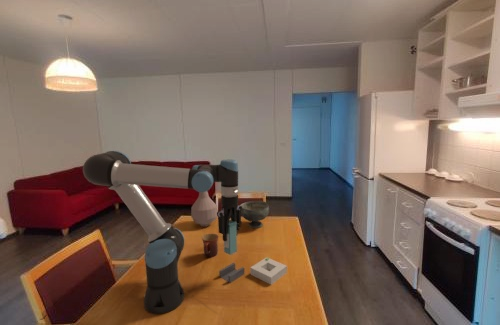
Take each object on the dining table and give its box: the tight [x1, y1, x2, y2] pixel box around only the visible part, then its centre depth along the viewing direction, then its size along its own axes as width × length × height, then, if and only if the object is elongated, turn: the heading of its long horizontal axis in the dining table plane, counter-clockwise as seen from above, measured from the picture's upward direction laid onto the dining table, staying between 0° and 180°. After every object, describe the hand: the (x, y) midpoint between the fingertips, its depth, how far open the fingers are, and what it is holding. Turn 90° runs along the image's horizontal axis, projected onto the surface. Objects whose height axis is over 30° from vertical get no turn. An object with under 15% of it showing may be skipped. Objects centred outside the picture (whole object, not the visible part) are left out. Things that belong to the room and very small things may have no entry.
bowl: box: [239, 200, 270, 229], centre depth 176 cm, size 20×19×15 cm
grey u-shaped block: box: [218, 262, 245, 284], centre depth 118 cm, size 9×7×4 cm
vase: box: [190, 191, 218, 227], centre depth 178 cm, size 18×18×30 cm
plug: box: [223, 219, 238, 256], centre depth 115 cm, size 4×4×14 cm
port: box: [249, 257, 288, 285], centre depth 119 cm, size 12×12×5 cm
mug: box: [201, 233, 219, 259], centre depth 136 cm, size 12×9×10 cm
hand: (230, 245), depth 116 cm, fingers closed on plug, 4 cm apart
